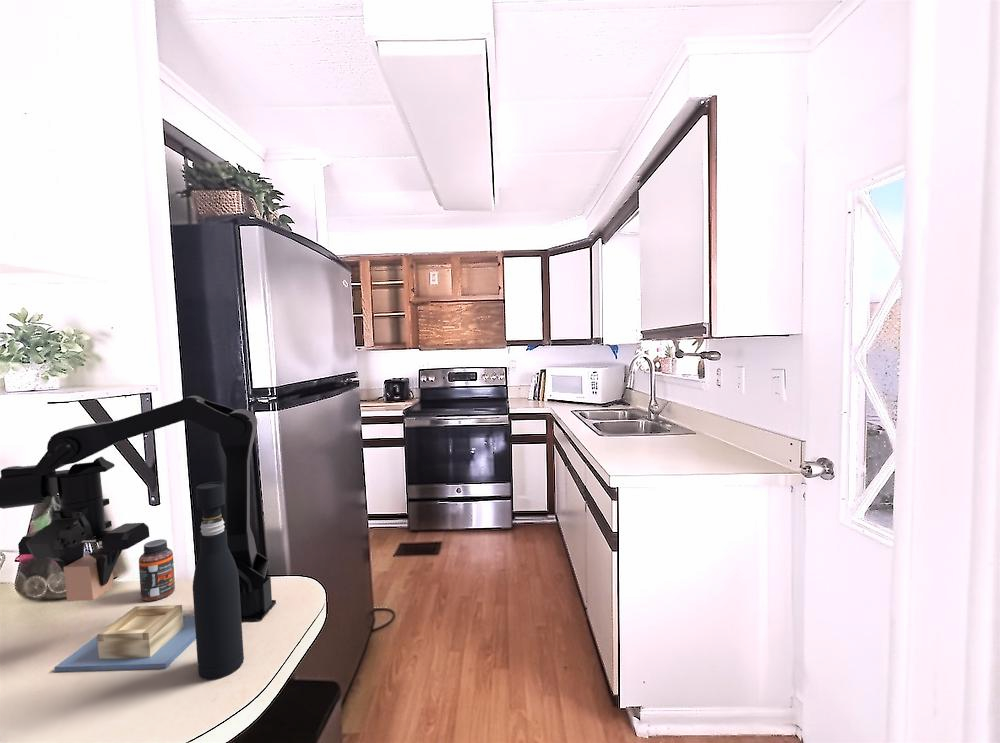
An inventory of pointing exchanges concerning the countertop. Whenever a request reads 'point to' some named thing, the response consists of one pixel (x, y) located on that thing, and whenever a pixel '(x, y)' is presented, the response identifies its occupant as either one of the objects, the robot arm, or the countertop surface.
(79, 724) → the countertop surface
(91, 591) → the terracotta block
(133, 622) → the open wooden box
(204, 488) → the black insulated water bottle
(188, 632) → the mat
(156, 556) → the supplement bottle
